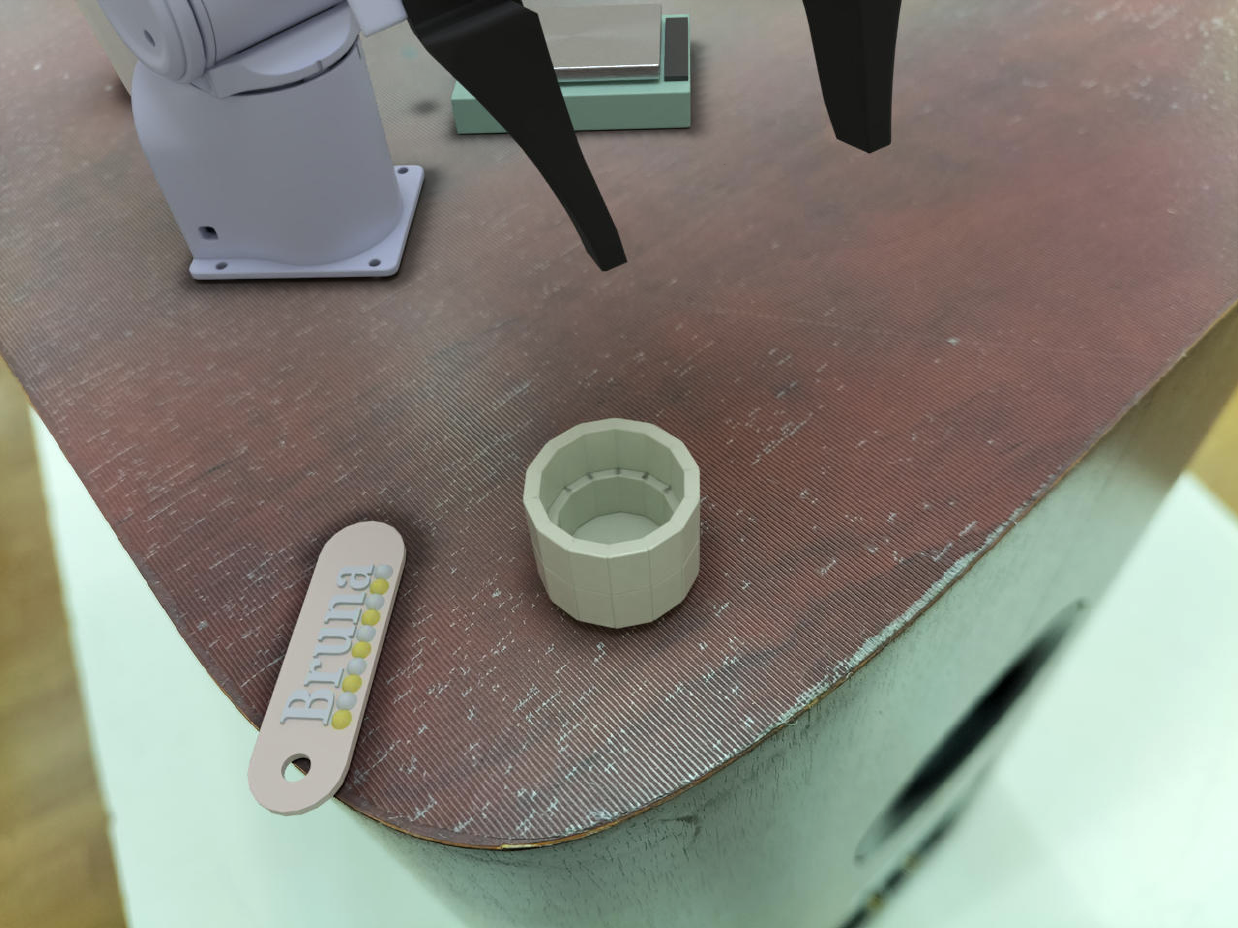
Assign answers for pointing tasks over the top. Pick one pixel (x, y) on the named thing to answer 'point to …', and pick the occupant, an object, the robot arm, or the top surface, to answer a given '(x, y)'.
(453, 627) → the top surface
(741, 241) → the top surface
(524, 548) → the top surface
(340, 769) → the keychain
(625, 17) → the pan
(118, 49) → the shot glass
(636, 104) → the scale
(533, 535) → the green faceted cup
